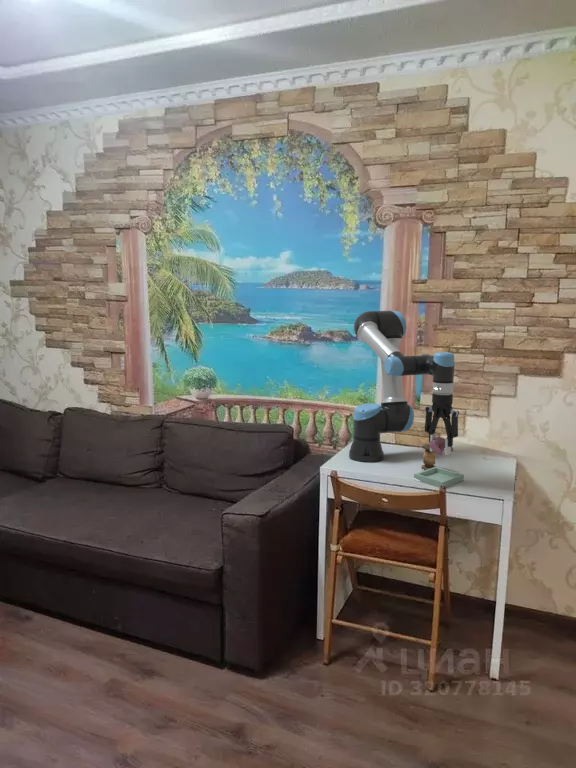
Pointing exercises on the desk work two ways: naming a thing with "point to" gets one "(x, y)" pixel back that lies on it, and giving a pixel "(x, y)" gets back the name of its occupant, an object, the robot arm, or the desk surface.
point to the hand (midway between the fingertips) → (440, 452)
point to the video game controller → (438, 445)
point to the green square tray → (439, 477)
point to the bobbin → (428, 457)
